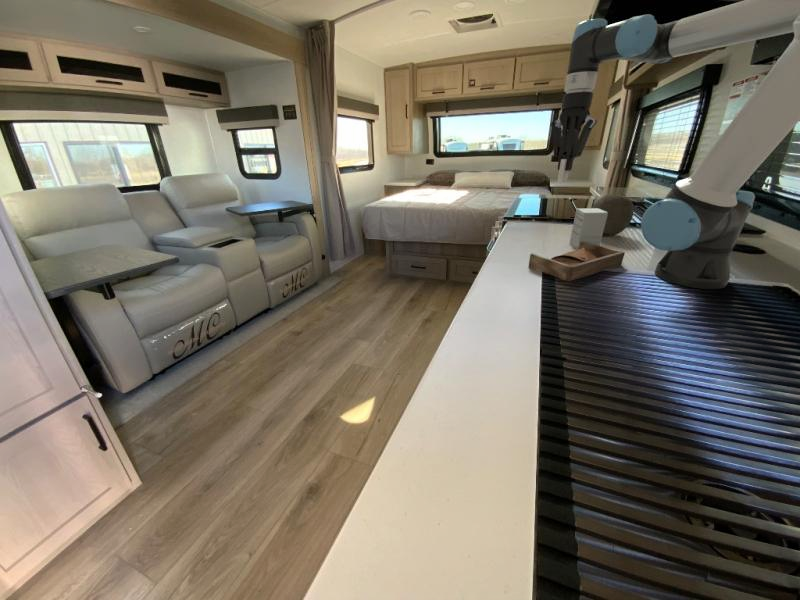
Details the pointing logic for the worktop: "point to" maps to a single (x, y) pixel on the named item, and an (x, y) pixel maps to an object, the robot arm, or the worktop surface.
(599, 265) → the box
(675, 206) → the robot arm
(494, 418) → the worktop surface
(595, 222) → the supplement box
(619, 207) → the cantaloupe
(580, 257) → the sunglasses case
